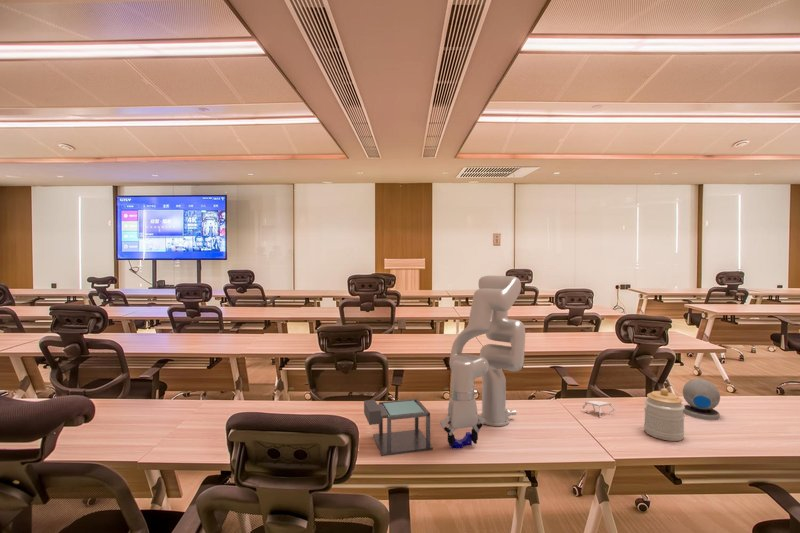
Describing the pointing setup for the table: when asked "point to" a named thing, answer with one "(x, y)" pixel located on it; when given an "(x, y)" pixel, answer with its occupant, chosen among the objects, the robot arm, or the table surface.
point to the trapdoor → (388, 410)
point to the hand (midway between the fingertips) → (462, 443)
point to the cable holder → (462, 441)
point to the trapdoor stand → (404, 434)
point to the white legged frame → (598, 403)
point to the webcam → (701, 399)
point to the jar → (664, 415)
